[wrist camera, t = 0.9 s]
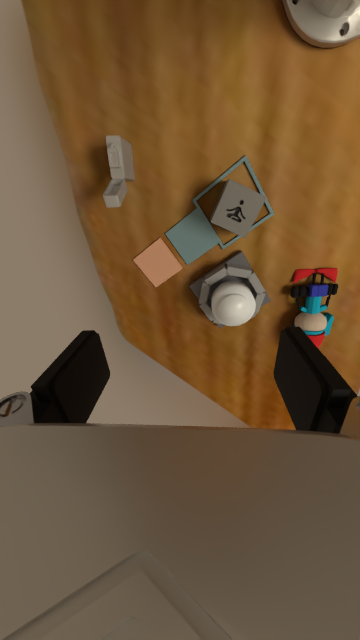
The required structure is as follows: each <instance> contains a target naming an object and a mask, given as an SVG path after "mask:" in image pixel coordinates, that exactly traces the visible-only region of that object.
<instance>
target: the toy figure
mask: <svg viewBox="0 0 360 640" xmlns="http://www.w3.org/2000/svg"><path fill="white" fill-rule="evenodd" d="M316 271H317V272H318V273H320V274H322V275H321V282H320V284H315V279H316V273H315V272H316ZM312 274H313V280H312V284H308V287H304V286H300V287H299V288H298V287H293V288H292V289H291V297H293V298H296V297H297V299H296V303H297V306H298V308H299V310H301V311H303V312H301V313H300V314H298V315H297V316H296V318H295V321H294V323H295V324H294V326H293V327H301V328H302V330H303V331H304V332H305V333H306V335H307V336H308V337H309V338H310V340H311V341H312V342H313V343H314V344H315V346H316V347H317V348H319V346H320V345H321V344H322V342H323V339H324V336H325V335H329V332H330V329H331V326H332V322H333V315H331V314H329V313H327V314H326V315H324V314H323V313H320V312H321V311H323V310H326V309H327V307H328V303H329V300H330V296H331V294H332V295H335V294H336V293H337V289H338V284H333V285H332V284H328V285H327V284H324V283H323V281H324V276H326V277H327V278H329V279H331V280H332V281H333V282H334V283H335V282H336V277H337V268H322V269H317V270H314V269H298V270H296V271H295V275H294V280H293V284H294V283H295V282H297V281H299V280H300V279H303V278H305V277H307V276H309V275H312ZM327 295H329V297H327V300H326V304H323V305H321V298H322V296H327ZM298 297H304V298H306V303H305V308H304V307H302V306H301V307H300V304H299V301H298ZM320 305H321V306H320Z"/></svg>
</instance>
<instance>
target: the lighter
mask: <svg viewBox="0 0 360 640" xmlns="http://www.w3.org/2000/svg"><path fill="white" fill-rule="evenodd" d="M106 143H107V152H108V159H109V166H110V171H111V177H112V179H111V181H110V183H109V184H108V186H107V188H106V190H105V191H104V193H103V198H104V201H105V204H106V207H120V206H121V204H122V202H123V199H124V197H125V195H126V193H127V186H126V182H125V181H134V179H135V177H134V167H133V156H132V146H131V144H130V143H129V142H127V141H126V140H124V139H123V138H121V137H120V136H107V137H106Z"/></svg>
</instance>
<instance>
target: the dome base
mask: <svg viewBox="0 0 360 640" xmlns="http://www.w3.org/2000/svg"><path fill="white" fill-rule="evenodd" d="M228 281H239V282H242V283H244V284H245V285H247V286H248V288H249V289H250V291H251V293H252V295H253V297H254V299H255V303H256V308H255V312H254V314H253V316H252V317H251V318H253V317H255V316H256V314H255V313H257V314H258V312H259V310H260V307H261V306H262V305H264V304H266V303H268V302H270V301H271V300H270V298H269V297H268V295H267V293H266V292H265V290H264V288H263V286H262V285H261V283H260V281H259V279H258V278H257V276H256V274H255V273H254V271H253V269H252V268H251V266H250V264H249V263H248V261H247V259H246V258H245V256H244V254H243V253H242V251H239V252H238V253H236V254H235V255H233V256H232V257H230V258H229V259H227V260H226V261H224V262H223V263H221V264H220V265H218V266H217V267H215V268H214V269H212V270H211V271H209V272H208V273H206V274H205V275H203V276H202V277H200V278H199V279H197V280H195V281H194V282H192V283H191V284H189V287H190V289H191V290H192V291H193V293H194V294H195V295H196V297H197V298H198V299H199V306H200V308H201V309H202V310H203V311H204V313H205V314H206V315H207V317H208V318H209V319H210V321H213V323H217V325H218V326H219V327H220V328H221V327H223V326H225V325H224V324H222V323H220V322H218V321H217V320H216V319H215V317H214V315H213V313H212V304H211V298H212V294H213V292H214V290H215V289H216V288H217V287H218V286H219V285H221V284H222V283H225V282H228ZM251 318H250V319H251Z"/></svg>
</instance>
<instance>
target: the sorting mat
mask: <svg viewBox="0 0 360 640" xmlns="http://www.w3.org/2000/svg"><path fill="white" fill-rule="evenodd" d="M242 162H245V164H246V166H247V168H248V170H249V172H250V174H251V176H252V178H253V180H254V182H255V184H256V186H257V188H258V190H259V192H260V194H261V195H263V196H265V194H264V192H263V190H262V188H261V186H260V183H259V181H258V179H257V177H256V175H255V173H254V171H253V169H252V167H251V165H250V163H249V161H248V159H247V157H246V156H244V157H243V158H242V159H241V160H240V161H238V162H237V163H236V164H235V165H234V166H232V167H231V168H230V169H229V170H228V171H226V172H225V173H224V174H223V175H222V176H221V177H219V178H218V179H217V180H216V181H215V182H213V183H212V184H211V185H210V186H209V187H207V188H206V189H205V190H204V191H203V192H201V193H200V194H199V195H198V196H197V197H195V198H194V199H193V200H192V201H193V202H194V204H195V206H196V207H197V208H196V209H195V210H194V211H192V212H191V213H190V214H189V215H187V216H186V217H185V218H184V219H183V220H181V221H180V222H179V223H178V224H176V225H175V226H174V227H173V228H171V229H170V230H169V231H168V232H167V233H165V234H166V236H167V237H168V239H169V240H170V241H171V243H172V244H173V246H174V247H175V248H176V250H177V251H178V252H179V254H180V255H181V257H182V258H183V259H184V261H185V262H186V264H187V265H188V264H190V263H191V262H193V261H194V260H195V259H197V258H198V257H200V256H201V255H203V254H204V253H205V252H207V251H208V250H210V249H211V248H212V247H214V246H215V245H217V244H218V243H219V244H220V246H221V247H222V249H224V248H226V247H227V246H229V245H230V244H232V243H233V242H235V241H236V240H238V239H239V238H240V237H242V236H240V235H238V236H237V237H235V238H234V239H232V240H231V241H229V242H228V243H227V244H225V245H223V243H222V242H221V240H220V239H219V237H218V235H217V234H216V232H215V231H214V229H213V227H212V226H211V224H210V222H209V221H208V219H207V218H206V216H205V214H204V213H203V211H202V210H201V208H200V206H199V205H198V203H197V202H196V201H197V200H198V199H199V198H200V197H201V196H203V195H204V194H205V193H206V192H207V191H209V190H210V189H211V188H212V187H213V186H215V185H216V184H217V183H218V182H219V181H221V180H222V179H223V178H224V177H226V176H227V175H228V174H229V173H230V172H232V171H233V170H234V169H235V168H236V167H238V166H239V165H240V164H241V163H242ZM265 197H266V196H265ZM265 204H266V206H267V208H268V210H269V212H270V214H268V215H267V216H266V217H264V218H263V219H261V220H260V221H258V222H257V223H255V224H254V225H253V226H251V228H250V230H249V231H251V230H252V229H254V228H255V227H256V226H258V225H259V224H261V223H262V222H264V221H265V220H267V219H268V218H270V217H271V216H272V215H274V212H273V210H272V208H271V206H270V204H269V202H268V200H267V199H266V200H265ZM133 261H134V262H135V263H136V264H137V266H138V267H139V268H140V269H141V270H142V272H143V273H144V274H145V275H146V276H147V278H148V279H149V280H150V281H151V283H152V284H153V285H154V286H155V287H157V286H159V285H160V284H161V283H163V282H164V281H166V280H167V279H169V278H170V277H171V276H173V275H174V274H176V273H177V272H178V271H180V270H181V269H183V268H182V266H181V265H180V264H179V262H178V261H177V260H176V258H175V257H174V255H173V254H172V253H171V251H170V250H169V249H168V247H167V246H166V245H165V243H164V242H163V240H162V239H161V238H159V239H158V240H157V241H155V242H154V243H153V244H152V245H151V246H149V247H148V248H147V249H146V250H144V251H143V252H142V253H141V254H139V255H138V256H137V257H136V258H135V259H133Z"/></svg>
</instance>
